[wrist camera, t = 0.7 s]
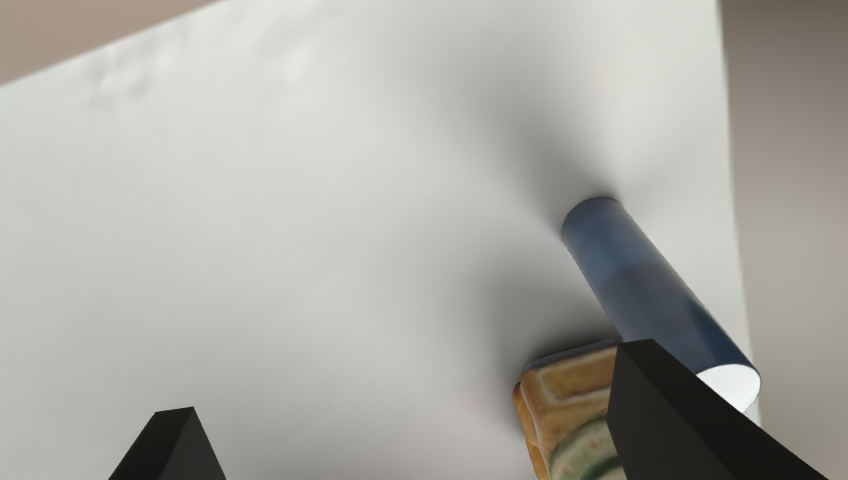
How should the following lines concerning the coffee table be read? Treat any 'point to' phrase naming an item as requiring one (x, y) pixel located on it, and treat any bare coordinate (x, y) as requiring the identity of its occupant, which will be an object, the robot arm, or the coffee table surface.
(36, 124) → the coffee table surface
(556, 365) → the ornament
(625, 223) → the peg
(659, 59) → the coffee table surface
